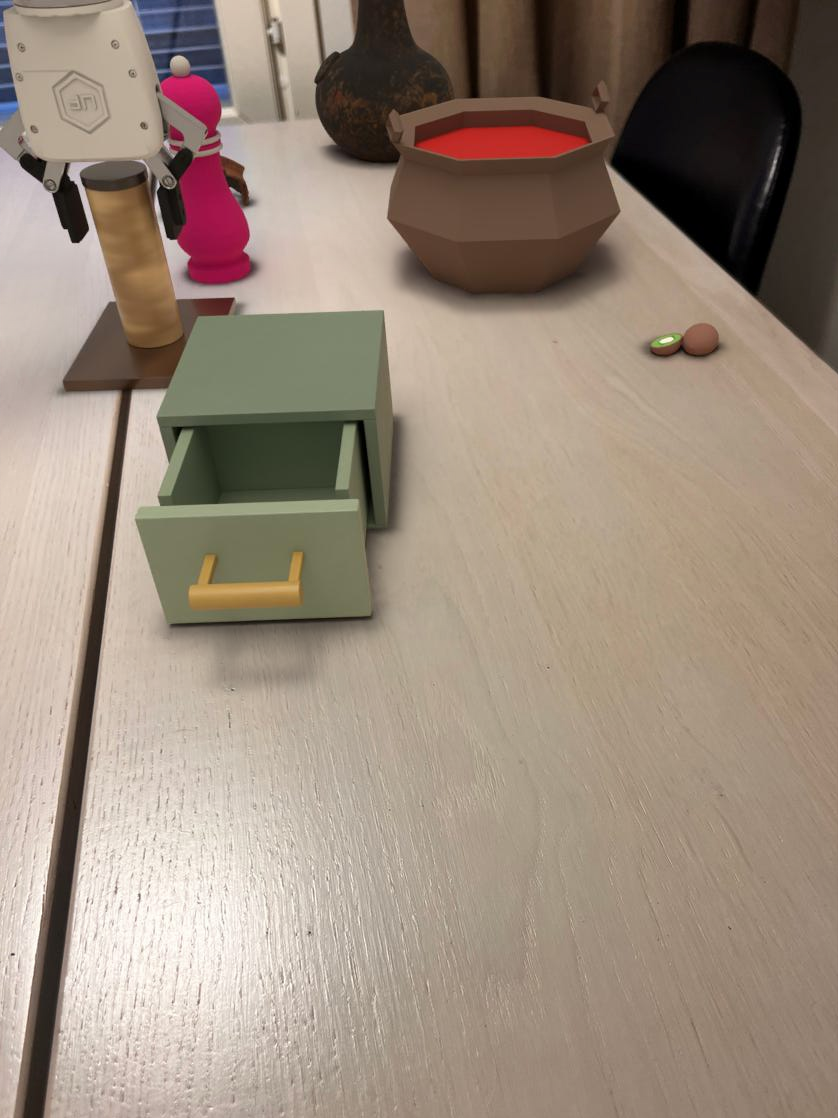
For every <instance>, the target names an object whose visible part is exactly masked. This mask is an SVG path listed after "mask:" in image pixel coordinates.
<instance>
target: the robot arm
mask: <svg viewBox="0 0 838 1118" xmlns="http://www.w3.org/2000/svg"><path fill="white" fill-rule="evenodd" d="M8 1H9V2H12V5H13V6H10V7H9V8H6V9H4V10H3V11H2V14H3V25H4V35H5V43H6V49H7V54H8V60H9V64H10V71H11V77H12V80H13V86H14V91H15V96H16V99H17V104H18V107H17V109H16V111H15V112H13V114H12V115H11V116H10V118H9V119H8V120H7V121H6V123H5V124H4V125H3V127H1V129H0V148H2V150H3V151H4V152H6V154H8V155H9V156H10V157H11V158H12V159H13V160H15V161H16V162H18V163H19V165H20V167H21V168H22V169H23V170H24V171H25V172H26V173H28V174H29V175H30V176H32V177H33V178H34V179H35V180H37V182H39V183H40V184H42V187H43V188H44V190H45V191H46V192H48V193H50V194H51V195H52V199H53V202H54V205H55V209H56V213H57V216H58V219H59V223H60V226H61V228H62V229H63V230H67V233H68V237H69V240H70V242H71V243H72V244H80V243H81V242H82V241H83V240H84V238H85V237H86V236H87V234H88V233H89V231H90V225H89V221H88V218H87V214H86V211H85V207H84V203H83V201H82V197H81V193H80V189H79V187H78V184H77V183H76V182H75V180H71V178H70V176H69V174H70V169H71V165H72V164H73V163H101V162H107V161H143V163H144V164H145V165H146V167H147V168H148V169H149V171H151V173H152V174H153V175H154V176H155V178H156V179H157V182H158V184H159V187H158V188H157V190H156V198H157V203H158V206H159V210H160V215H161V219H162V223H163V227H164V232H165V237H166V239H169V241H177V238H178V236H179V234H180V232H181V230H182V226H185V225H186V222H187V217H186V211H185V207H184V202H183V197H182V193H181V188H180V183H179V180H180V178H181V177H182V176H183V174H184V173H185V171H186V170H187V169H188V167H189V166H190V165H191V163H192V161H193V160H194V158H195V156H196V154H197V152H198V150H199V148H200V147H201V145H202V143H203V141H204V139H205V137H206V135H207V133H208V129H207V127H206V125H205V124H203V123H202V122H200V121H199V120H198V119H196V118H195V117H193V116H192V115H191V114H189V113H188V112H187V111H185V110H184V109H182V108H181V107H180V106H178V105H177V104H175V103H174V102H173V101H171V100H170V99H168V98H167V97H166V96H164V95H163V93H162V89H161V86H160V84H161V82H160V79H159V75H158V73H157V69H156V65H155V62H154V59H153V56H152V53H151V50H150V47H149V43H148V40H147V38H146V34H145V33H144V29H143V27H142V25H141V22H140V19H139V16H138V14H137V12H136V10H135V7H134V5H133V3H132V1H131V0H8ZM170 125H171V126H173V127H174V128H176V129H177V130H178V131H180V132H181V133H182V134H183V136H184V142H183V144H182V146H181V148H180V150H179V151H178V153H177V154H176V155H173V154H171V153H170V151H169V148H167V146H166V145H165V143H164V142H166V141H167V139H168V138H169V136H170ZM24 134H25V135H26V139H27V142H28V143H27V142H26V140H25V139H24Z"/></svg>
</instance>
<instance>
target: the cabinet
mask: <svg viewBox="0 0 838 1118" xmlns="http://www.w3.org/2000/svg"><path fill="white" fill-rule="evenodd" d="M386 329H387V328H386V321H385V310H384V309H378V310H377V309H375V310H374V309H373V310H347V311H346V310H344V311H343V310H342V311H317V312H315V311H314V312H288V313H287V312H286V313H259V314H256V313H255V314H234V315H225V316H198V317H197V320H196V322H195V325H194V327H193V329H192V332H191V334H190V337H189V339H188V342H187V344H186V346H185V349H184V351H183V354H182V356H181V358H180V361H179V363H178V366H177V368H176V370H175V373H174V375H173V378H172V380H171V382H170V385H169V387H168V388H167V389H166V392H165V394H164V397H163V399H162V402H161V404H160V406H159V409H158V411H157V414H156V416H155V417H156V421H157V425H158V427H159V432H160V436H161V440H162V443H163V447H164V451H165V454H166V458H167V462H168V464H169V463H170V460H171V457H172V455H173V452H174V449H175V447H176V444H177V441H178V439H179V436H180V433H181V430H182V428H183V426H209V425H237V424H265V423H293V422H321V421H349V420H362V424H363V433H364V442H365V450H366V459H367V468H368V477H369V486H370V493H369V505H368V516H367V528H366V530H369V529H370V530H371V529H375V530H376V529H387V528H388V525H389V523H388V522H389V506H390V491H391V489H390V488H391V473H392V458H393V457H392V454H393V441H394V440H393V439H394V423H395V420H394V410H393V409H394V408H393V397H392V387H391V375H390V374H391V373H390V365H389V363H390V362H389V355H388V354H389V352H388V343H387V330H386Z"/></svg>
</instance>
